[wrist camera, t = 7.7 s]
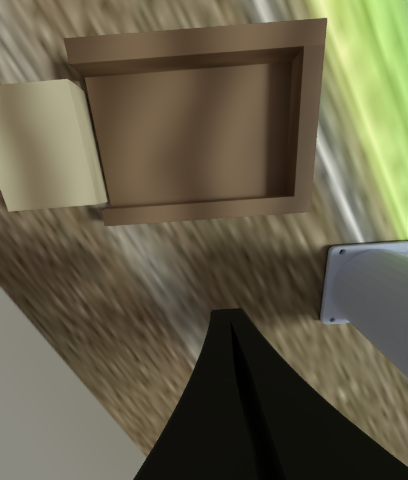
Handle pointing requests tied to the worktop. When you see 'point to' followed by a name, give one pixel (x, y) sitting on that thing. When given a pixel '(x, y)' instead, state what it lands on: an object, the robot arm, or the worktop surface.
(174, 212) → the walnut box
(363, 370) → the worktop surface
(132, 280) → the worktop surface
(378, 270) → the robot arm
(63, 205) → the beige rectangular block
